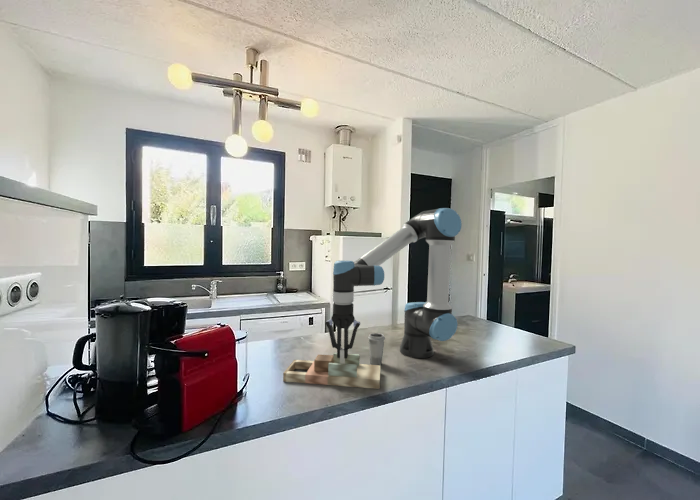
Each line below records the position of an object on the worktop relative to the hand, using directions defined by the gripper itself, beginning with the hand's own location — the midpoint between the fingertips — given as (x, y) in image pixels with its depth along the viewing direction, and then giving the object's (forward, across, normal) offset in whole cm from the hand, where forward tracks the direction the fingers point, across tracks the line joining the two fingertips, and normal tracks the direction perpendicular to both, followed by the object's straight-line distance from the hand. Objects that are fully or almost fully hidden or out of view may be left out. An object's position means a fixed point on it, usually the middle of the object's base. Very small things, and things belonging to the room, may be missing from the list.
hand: (342, 366), depth 114 cm
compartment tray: (+4, +3, 0) cm, 5 cm away
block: (+1, +7, 0) cm, 7 cm away
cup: (+4, -12, -15) cm, 20 cm away
